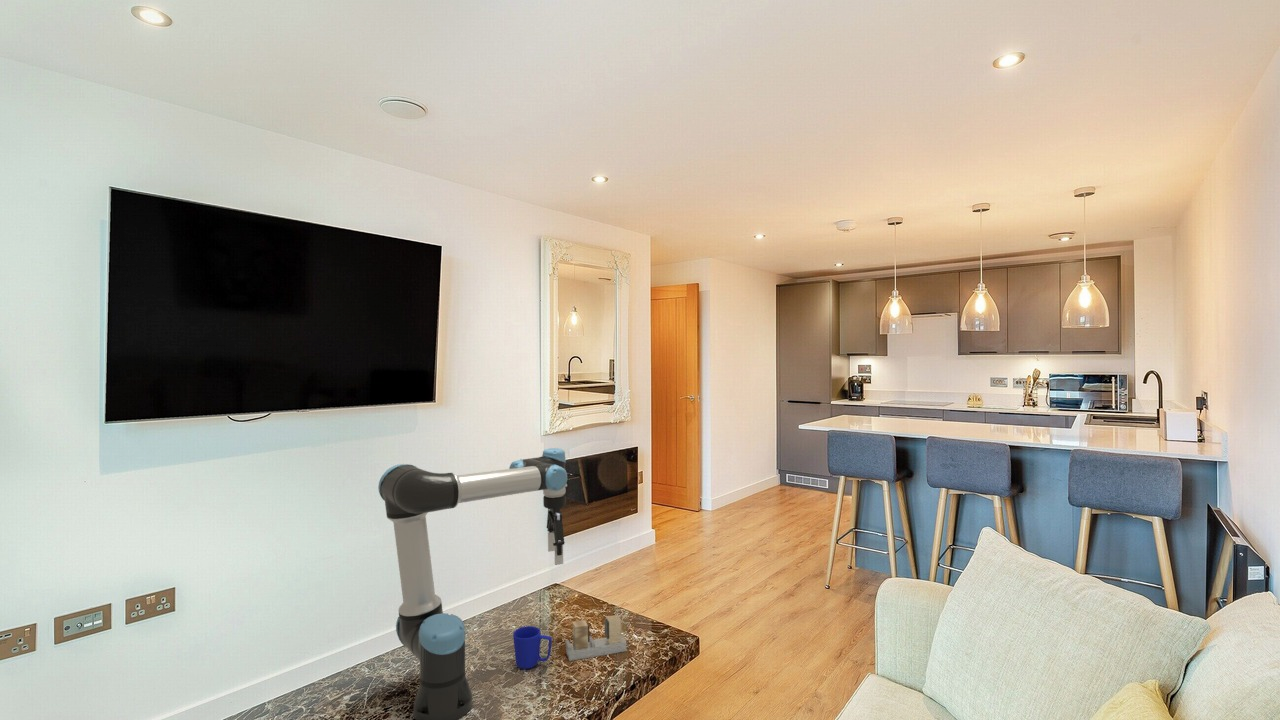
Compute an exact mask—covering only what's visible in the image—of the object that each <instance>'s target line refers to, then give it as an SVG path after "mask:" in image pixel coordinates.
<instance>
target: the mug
mask: <svg viewBox="0 0 1280 720" xmlns="http://www.w3.org/2000/svg"><path fill="white" fill-rule="evenodd" d="M512 634H513V635H512V636H513V648H514V656H515V664H516V666H517V667H518V668H520V669H524V670H526V669H527V670H529V669H531V668H535V666H537V664H538V663H539V661H540V662H542V663H543V662H547V661H548V660H549V658H550V656H551V651H552V642H553V637H552V636H550V635H544V634H541V630H540V628H539V627H537V626H536V627H535V626H534V625H533V626H532V625H531V626H530V625H529V626H527V625H526V626H522V627H519V628H517V629H515V630H514V631H513V632H512ZM541 640H548V650H547V651H548V652H547V656H546V657H545V658H543V657H541V655H540V654H541V652H540V650H541Z"/></svg>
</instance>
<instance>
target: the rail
mask: <svg viewBox="0 0 1280 720" xmlns="http://www.w3.org/2000/svg"><path fill="white" fill-rule="evenodd" d="M603 620H604V623H603V624H604V636H605V637H601V638H595V639H594V638H593V636H590V635H589V637H590V642H588V648H583V649H577V650H575V647H574V645H573V642H572V643H570V640H569V639H566V640H565V641H564V642H565V647H566V648H565V649H566V650H565V651H566V652H565V653H566V656H567V658H568V661H569V662H573V661H578V659H579V660H583V659H584V658H585V659H590V658H595V657H602V656H605V655H606V656H607V655H613V654H619V653H624V652H627V641H626V639H625V637H624V636H623V634H622V619H621V618H620V616H619V615H618V614H615V615H608V616H605V618H604V619H603ZM589 657H590V658H589Z"/></svg>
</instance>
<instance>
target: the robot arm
mask: <svg viewBox="0 0 1280 720" xmlns="http://www.w3.org/2000/svg"><path fill="white" fill-rule="evenodd" d="M566 463H567V461H566V451H565V450H564V449H562V448H558V447H557V448H556V447H554V448H552V447H551V448H546V449H544V450H542V455H541V456H538V457H532V458H524V459H522V458H520V459H518V460H514V461H512V462H511V463H510V465H509V468H507V469H499V470H491V471H483V472H474V473H467V474H459V475H458V474H457V475H456V474H455V473H453V472H446V473H445V472H444V473H441V472H439V473H437V472H432V471H427V470H425V469H421V468H419V467H417V466H416V465H413V464H407V463H403V464H402V463H399V464H395V465H393V466H391V467H389V468H388V469H386V471H385V472H383V474H382V475H381V477H380V479H379V481H378V493H379V497H380V498H381V499H382V500H383V501H384V505H385V512H386V518H387V519H388V520H389V521H391V522H392V523H393V528H394V530H393V531H394V538H395V546H396V554H397V563H398V570H399V576H400V578H399V579H400V587H401V596H402V603H401V605H400V606H399V608H398V616H397V620H396V623H395V631H396V635H397V637H398V639H399V641H400V643H401V644H402V645H403V646H404V647H405V648H406V649H408V650H409V652H410V653H412V655H413V656H415V658H417V660H418V662H419V686H418V689H417V693H416V696H415V699H414V703H413V717H414V720H459V719H461V718H463V717H464V716H465V715H466V714H467V713H469V711H470V710H471V709H472V706H473V691H472V689H471V687H470V684H469V681H468V678H467V676H466V636H467V635H466V631H465V624H464V621H463V620H462V618H460V617H459V616H457V615H455V614H453V613H451V614H449V613H444V612H443V611H444V609H443V604H442V598H441V597H440V596H439V595H438V594H437V595H436V594H435V586H434V585H435V584H434V574H433V568H432V560H431V558H432V557H431V550H430V549H431V548H430V542H429V533H428V526H427V514H428V513H432V512H433V513H434V512H438V511H444V510H449V509H455V508H457V506H458V504H463V503H468V502H474V501H480V500H481V501H482V500H487V499H492V498H494V499H495V498H499V497H500V498H501V497H505V496H507V497H508V496H513V495H517V494H524V493H530V492H531V493H532V492H537V491H542V494H543V499H542V500H543V501H542V503H543V507H544V508H545V509H547V518H546V519H547V520H546V529H547V551H548V552H554V566H559V565H564V545H565V537H564V535H565V534H564V524H563V513H562V512H561V508H564V507H566V505H567V496H566V491H567V490H566V488H567V487H568V484H567V482H568V472H567V471H566V467H567V466H566V465H567V464H566Z"/></svg>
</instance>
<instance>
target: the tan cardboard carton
mask: <svg viewBox="0 0 1280 720" xmlns="http://www.w3.org/2000/svg"><path fill="white" fill-rule="evenodd" d="M589 636H590V624H589V622H588V621H586V620H585V619H583V620H576V621H572V643H573V645H574V647H575V650H577V649H583V648H588V642H590V637H589Z"/></svg>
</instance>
